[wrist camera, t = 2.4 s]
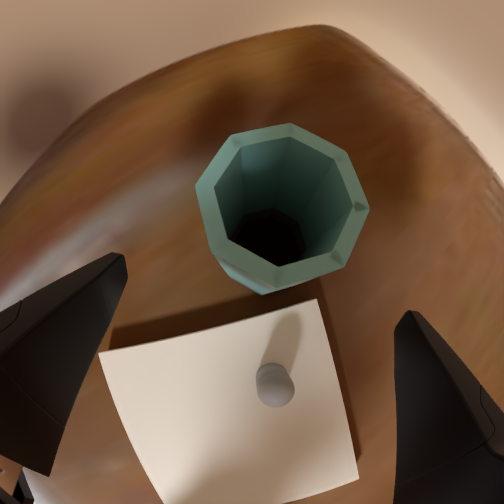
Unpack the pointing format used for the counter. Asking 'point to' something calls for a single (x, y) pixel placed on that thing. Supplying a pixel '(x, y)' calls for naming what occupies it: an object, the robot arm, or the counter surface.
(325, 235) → the teal faceted cylinder
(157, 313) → the counter surface
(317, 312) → the pin board
